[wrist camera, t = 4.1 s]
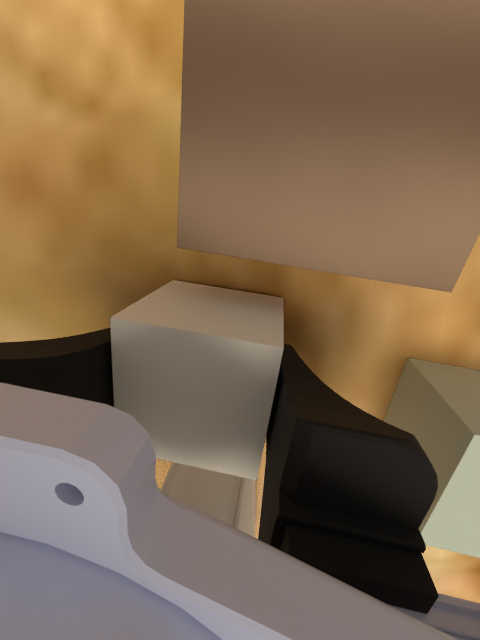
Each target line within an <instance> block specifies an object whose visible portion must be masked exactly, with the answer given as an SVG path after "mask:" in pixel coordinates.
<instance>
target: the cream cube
mask: <svg viewBox="0 0 480 640" xmlns="http://www.w3.org/2000/svg"><path fill="white" fill-rule="evenodd" d="M110 327H111V349H112V372H113V394H114V408H117V409H119V410H121V411H124V412H126V413H128V414H130V415H132V416H133V417H134V418H135V419H136V420H137V421H138V423H139V424H140V425H141V426H142V427H143V428H144V429H145V430H146V431H147V432H148V433H149V435H150V438H151V441H152V445H153V448H154V452H155V455H156V458H157V459H161V460H166V461H170V462H175V463H179V464H184V465H189V466H193V467H198V468H202V469H207V470H211V471H216V472H220V473H225V474H230V475H234V476H239V477H243V478H248V479H252V480H257V477H258V472H259V467H260V462H261V458H262V453H263V448H264V443H265V438H266V433H267V428H268V423H269V418H270V413H271V408H272V403H273V398H274V393H275V388H276V383H277V378H278V374H279V369H280V364H281V359H282V354H283V349H284V298H282V297H276V296H269V295H263V294H257V293H251V292H244V291H238V290H232V289H226V288H219V287H213V286H207V285H201V284H194V283H188V282H182V281H176V280H172V281H171V282H169V283H167V284H166V285H164V286H162V287H160V288H159V289H157V290H155V291H154V292H152V293H150V294H149V295H147V296H145V297H144V298H142V299H140V300H138V301H137V302H135V303H133V304H132V305H130V306H128V307H127V308H125V309H123V310H122V311H120V312H118V313H117V314H115V315H113V316H111V317H110Z"/></svg>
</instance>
